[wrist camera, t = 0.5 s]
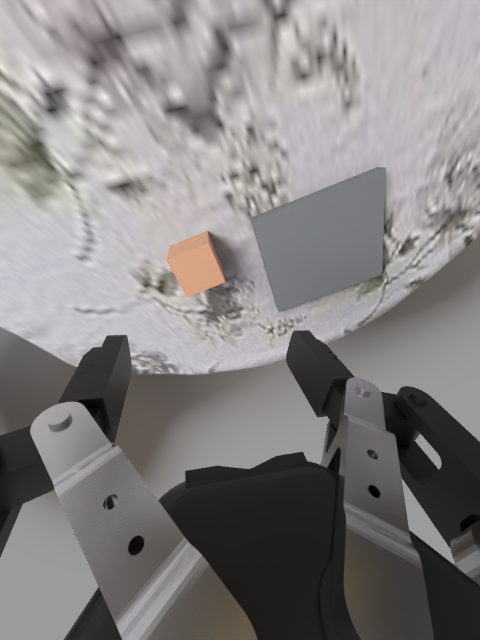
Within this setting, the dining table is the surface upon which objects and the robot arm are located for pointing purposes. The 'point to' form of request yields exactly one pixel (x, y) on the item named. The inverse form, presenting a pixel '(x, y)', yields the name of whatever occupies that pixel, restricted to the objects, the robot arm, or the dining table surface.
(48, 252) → the dining table surface
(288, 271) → the mat
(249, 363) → the dining table surface
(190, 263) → the cube
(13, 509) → the robot arm
